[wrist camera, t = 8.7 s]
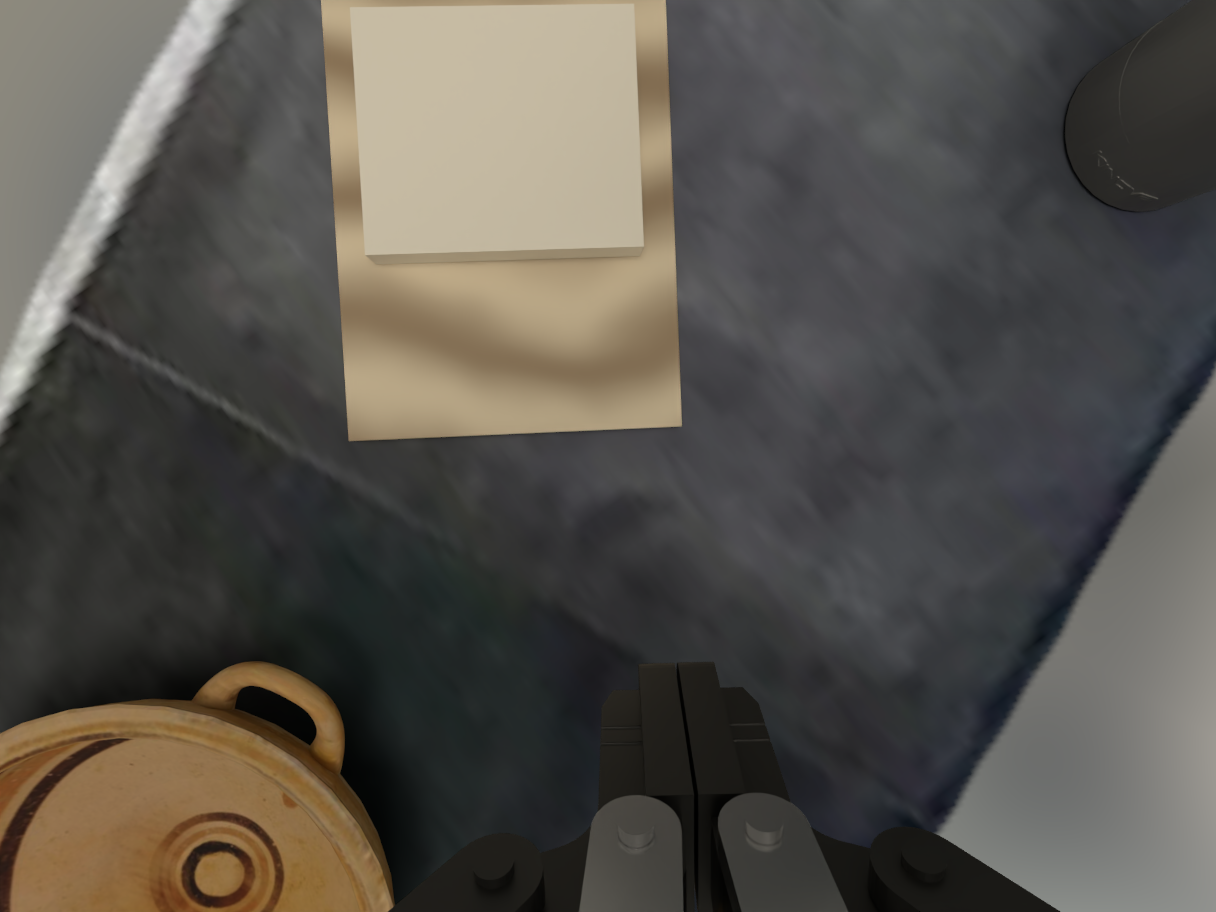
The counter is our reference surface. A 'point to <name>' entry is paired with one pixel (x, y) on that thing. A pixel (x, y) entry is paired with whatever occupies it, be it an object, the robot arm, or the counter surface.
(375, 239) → the tile
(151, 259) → the counter surface
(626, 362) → the board
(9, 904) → the ceramic bowl
